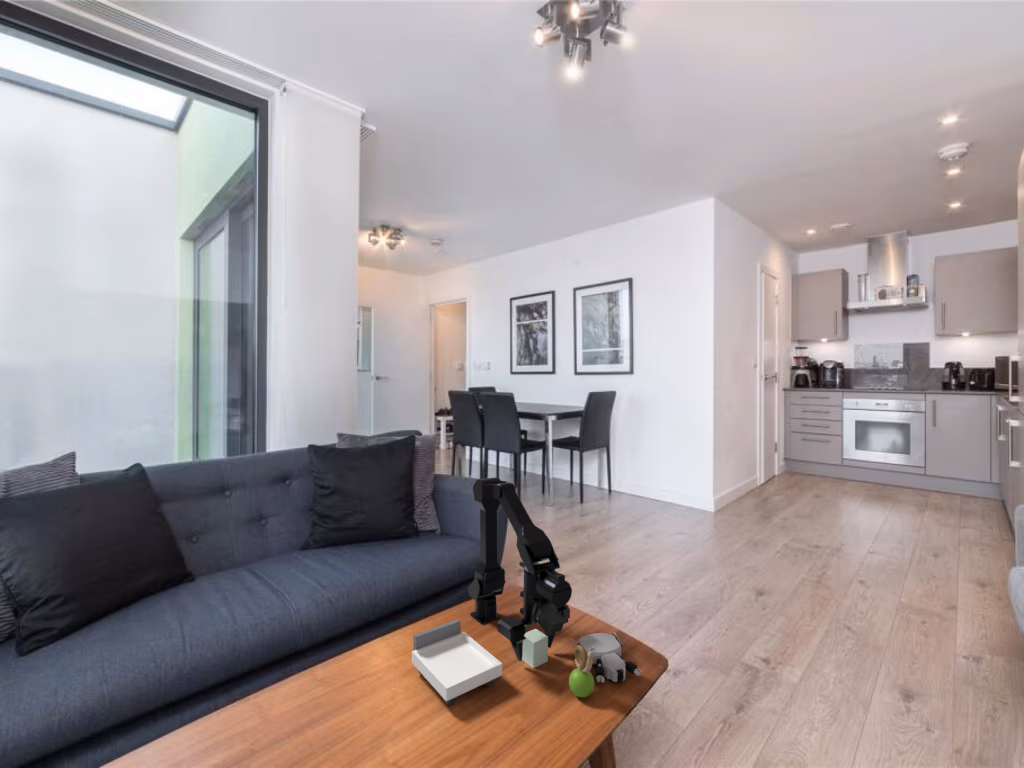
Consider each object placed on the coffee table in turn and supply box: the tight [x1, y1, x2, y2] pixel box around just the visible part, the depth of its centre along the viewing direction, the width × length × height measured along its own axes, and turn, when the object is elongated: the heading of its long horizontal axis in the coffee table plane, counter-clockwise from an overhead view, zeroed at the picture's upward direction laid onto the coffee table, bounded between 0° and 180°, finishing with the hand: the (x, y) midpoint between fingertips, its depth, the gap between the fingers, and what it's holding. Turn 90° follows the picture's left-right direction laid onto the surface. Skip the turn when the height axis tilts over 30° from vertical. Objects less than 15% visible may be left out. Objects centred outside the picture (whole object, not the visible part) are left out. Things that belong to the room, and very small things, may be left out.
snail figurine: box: [568, 644, 595, 699], centre depth 99 cm, size 5×6×12 cm
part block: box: [522, 628, 549, 669], centre depth 112 cm, size 4×4×6 cm
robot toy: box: [570, 631, 643, 683], centre depth 110 cm, size 12×4×15 cm
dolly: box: [411, 618, 503, 707], centre depth 105 cm, size 17×14×8 cm
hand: (534, 653), depth 112 cm, fingers open, 9 cm apart
